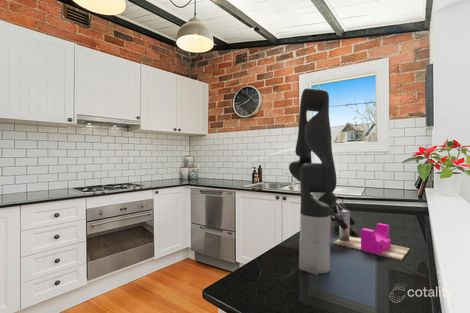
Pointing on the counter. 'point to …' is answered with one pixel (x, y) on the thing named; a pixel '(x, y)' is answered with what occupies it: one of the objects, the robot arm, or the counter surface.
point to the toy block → (376, 239)
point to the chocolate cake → (355, 234)
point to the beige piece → (355, 242)
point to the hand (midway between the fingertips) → (350, 226)
